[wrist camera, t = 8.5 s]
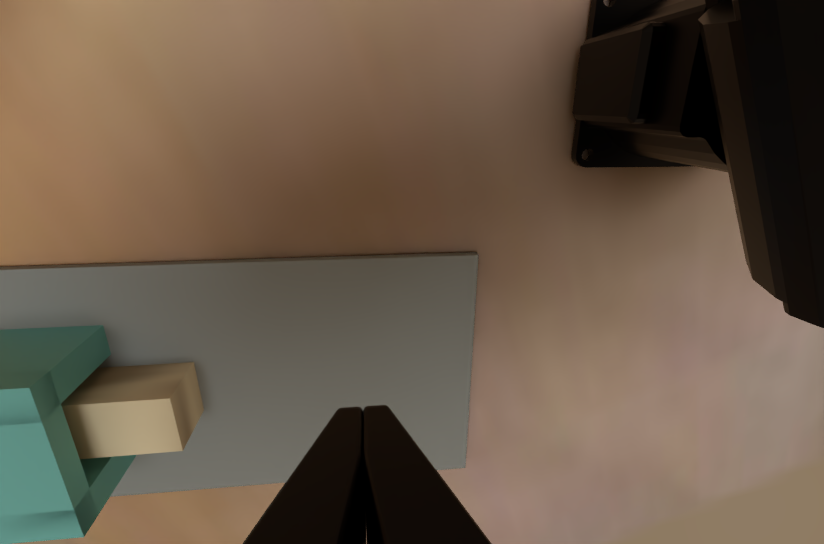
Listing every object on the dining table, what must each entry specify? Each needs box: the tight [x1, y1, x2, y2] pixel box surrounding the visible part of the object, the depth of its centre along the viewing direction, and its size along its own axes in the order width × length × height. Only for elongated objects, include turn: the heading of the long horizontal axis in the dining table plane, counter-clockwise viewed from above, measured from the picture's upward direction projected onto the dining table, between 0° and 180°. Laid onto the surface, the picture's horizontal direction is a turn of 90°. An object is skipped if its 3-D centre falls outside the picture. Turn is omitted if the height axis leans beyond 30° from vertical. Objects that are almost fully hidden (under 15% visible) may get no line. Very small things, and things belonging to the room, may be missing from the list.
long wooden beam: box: [61, 362, 204, 459], centre depth 18 cm, size 9×3×3 cm, turn 90°
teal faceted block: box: [0, 325, 136, 544], centre depth 17 cm, size 4×7×4 cm, turn 0°
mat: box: [0, 252, 478, 497], centre depth 20 cm, size 20×12×1 cm, turn 90°
